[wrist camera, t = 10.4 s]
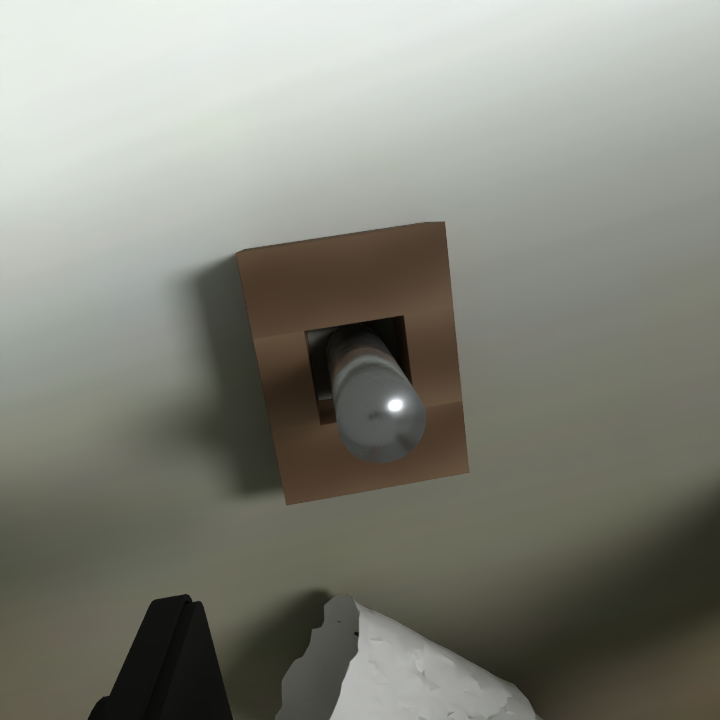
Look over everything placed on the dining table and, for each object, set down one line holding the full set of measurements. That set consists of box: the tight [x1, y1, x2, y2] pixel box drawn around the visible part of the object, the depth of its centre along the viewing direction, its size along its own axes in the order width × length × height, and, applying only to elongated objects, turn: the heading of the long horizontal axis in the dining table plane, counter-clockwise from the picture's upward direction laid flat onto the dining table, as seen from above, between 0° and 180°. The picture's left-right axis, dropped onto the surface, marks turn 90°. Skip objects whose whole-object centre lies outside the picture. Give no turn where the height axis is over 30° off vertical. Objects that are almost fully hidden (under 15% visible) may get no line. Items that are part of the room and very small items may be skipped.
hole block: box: [236, 222, 469, 505], centre depth 26 cm, size 12×9×4 cm
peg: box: [326, 324, 426, 463], centre depth 22 cm, size 3×3×10 cm
